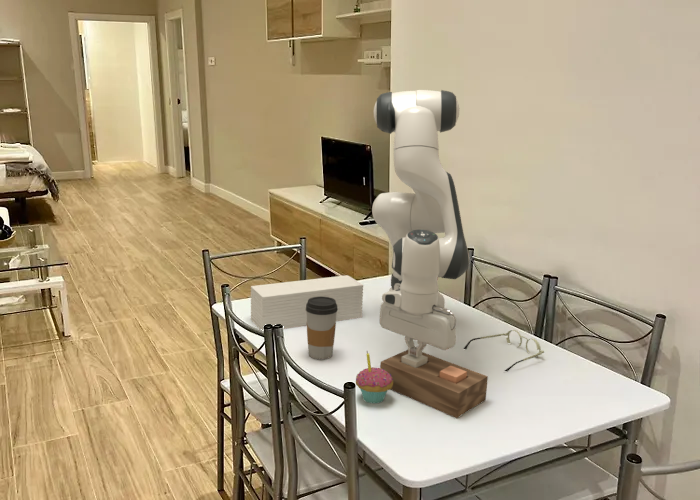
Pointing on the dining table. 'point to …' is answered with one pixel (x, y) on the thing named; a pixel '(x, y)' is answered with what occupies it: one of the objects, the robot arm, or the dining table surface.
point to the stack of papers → (304, 300)
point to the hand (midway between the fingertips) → (415, 355)
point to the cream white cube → (414, 360)
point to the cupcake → (374, 383)
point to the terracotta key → (453, 374)
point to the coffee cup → (321, 326)
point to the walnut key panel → (436, 384)
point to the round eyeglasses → (510, 342)
